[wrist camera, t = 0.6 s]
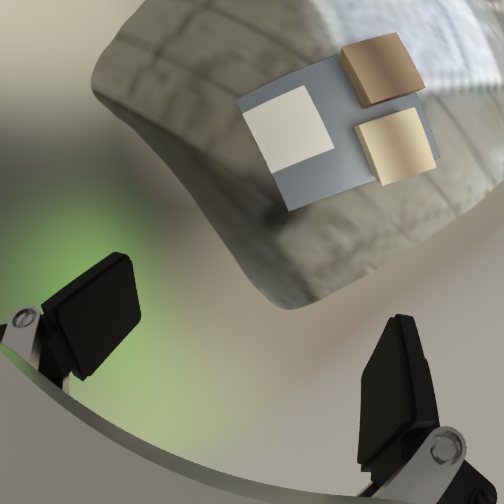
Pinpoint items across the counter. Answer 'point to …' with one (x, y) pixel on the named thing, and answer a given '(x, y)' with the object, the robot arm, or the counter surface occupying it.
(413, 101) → the build board
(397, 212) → the counter surface
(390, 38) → the walnut block
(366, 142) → the maple block
